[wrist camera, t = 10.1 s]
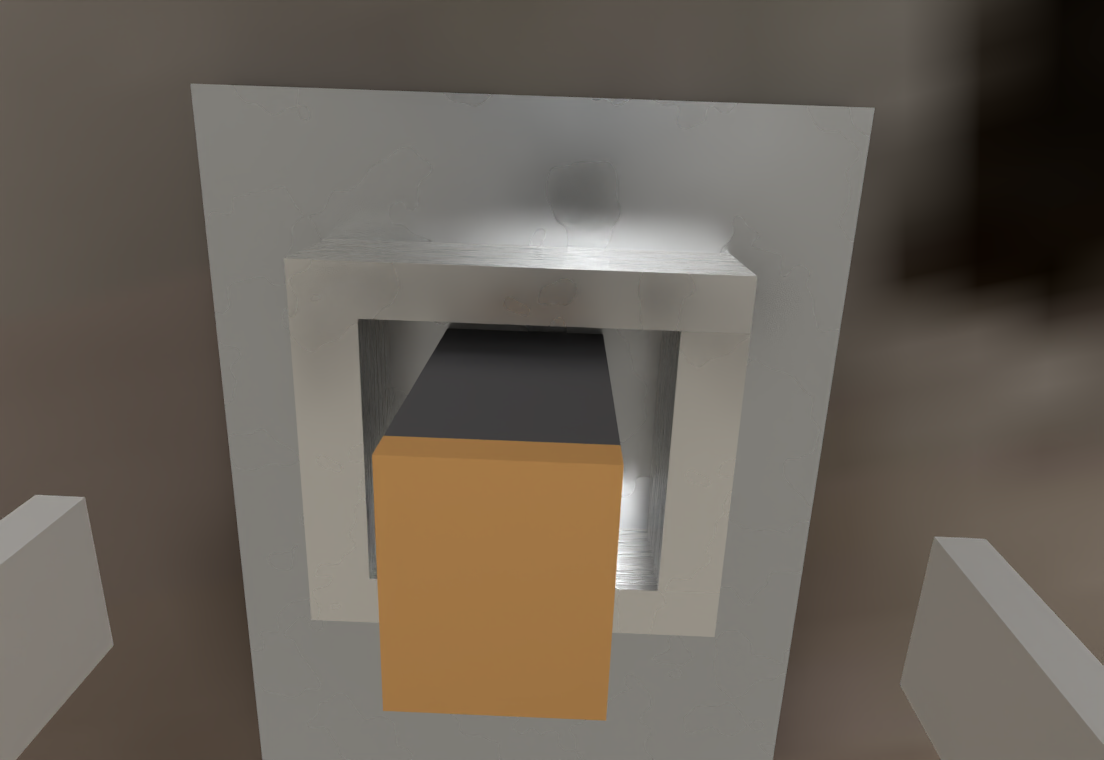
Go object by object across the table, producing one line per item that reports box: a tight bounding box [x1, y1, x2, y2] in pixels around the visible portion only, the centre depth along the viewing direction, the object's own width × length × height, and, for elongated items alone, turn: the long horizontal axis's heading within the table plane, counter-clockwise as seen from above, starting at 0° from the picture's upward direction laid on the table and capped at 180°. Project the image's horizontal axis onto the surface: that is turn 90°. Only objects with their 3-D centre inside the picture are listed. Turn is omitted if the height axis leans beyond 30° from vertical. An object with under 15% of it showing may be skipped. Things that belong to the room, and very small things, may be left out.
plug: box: [372, 328, 624, 721], centre depth 17 cm, size 5×4×8 cm
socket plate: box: [190, 84, 875, 760], centre depth 20 cm, size 20×16×4 cm
